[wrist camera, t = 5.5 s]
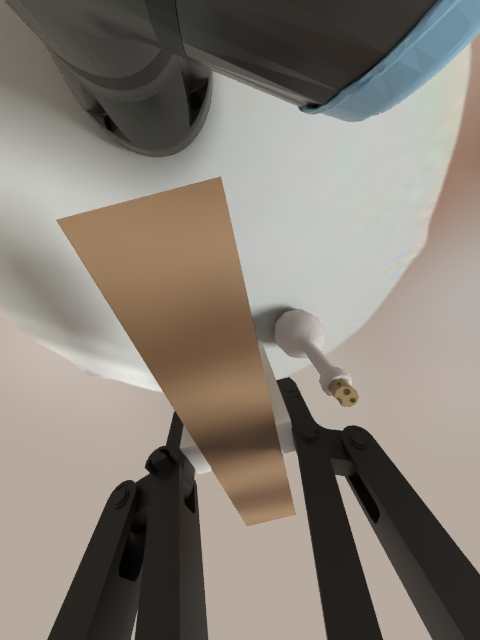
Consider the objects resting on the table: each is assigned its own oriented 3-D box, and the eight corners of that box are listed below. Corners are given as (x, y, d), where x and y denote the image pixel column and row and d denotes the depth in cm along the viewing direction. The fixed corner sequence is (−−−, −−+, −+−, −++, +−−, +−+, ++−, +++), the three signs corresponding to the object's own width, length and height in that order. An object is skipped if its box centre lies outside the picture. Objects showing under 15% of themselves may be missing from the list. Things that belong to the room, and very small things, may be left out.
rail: (130, 223, 8) (56, 219, 4) (219, 199, 8) (221, 176, 4) (241, 467, 18) (247, 526, 14) (280, 457, 18) (295, 514, 14)
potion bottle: (286, 349, 39) (333, 433, 23) (261, 324, 36) (296, 401, 20) (320, 324, 37) (398, 397, 21) (298, 295, 34) (370, 354, 18)
